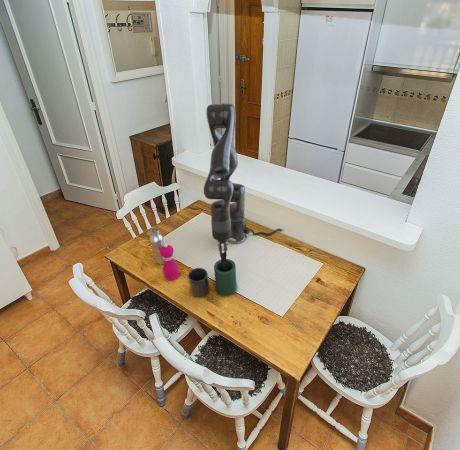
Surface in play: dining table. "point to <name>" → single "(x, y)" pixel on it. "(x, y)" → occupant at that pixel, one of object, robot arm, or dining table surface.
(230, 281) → the green jar
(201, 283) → the pot
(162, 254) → the pepper mill
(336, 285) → the dining table surface
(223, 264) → the bottle brush
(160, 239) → the silver metal bottle
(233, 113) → the robot arm
